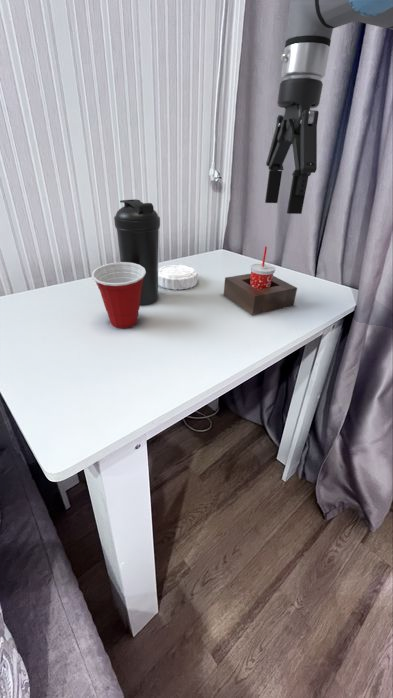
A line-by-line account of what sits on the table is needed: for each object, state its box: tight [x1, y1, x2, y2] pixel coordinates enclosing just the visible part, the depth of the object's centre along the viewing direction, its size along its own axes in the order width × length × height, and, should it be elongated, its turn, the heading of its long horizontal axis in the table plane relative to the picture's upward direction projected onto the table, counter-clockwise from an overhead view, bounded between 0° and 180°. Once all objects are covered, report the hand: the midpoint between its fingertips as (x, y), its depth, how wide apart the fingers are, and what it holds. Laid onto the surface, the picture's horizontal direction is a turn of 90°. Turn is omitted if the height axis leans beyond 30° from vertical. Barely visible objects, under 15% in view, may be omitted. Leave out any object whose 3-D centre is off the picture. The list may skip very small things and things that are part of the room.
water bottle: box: [113, 198, 161, 306], centre depth 79 cm, size 10×10×23 cm
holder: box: [223, 273, 298, 316], centre depth 85 cm, size 13×13×5 cm
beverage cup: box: [249, 246, 276, 290], centre depth 83 cm, size 6×6×14 cm
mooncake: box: [158, 264, 199, 291], centre depth 94 cm, size 12×12×4 cm
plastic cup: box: [91, 261, 146, 329], centre depth 70 cm, size 11×11×12 cm
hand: (281, 207), depth 70 cm, fingers open, 13 cm apart
